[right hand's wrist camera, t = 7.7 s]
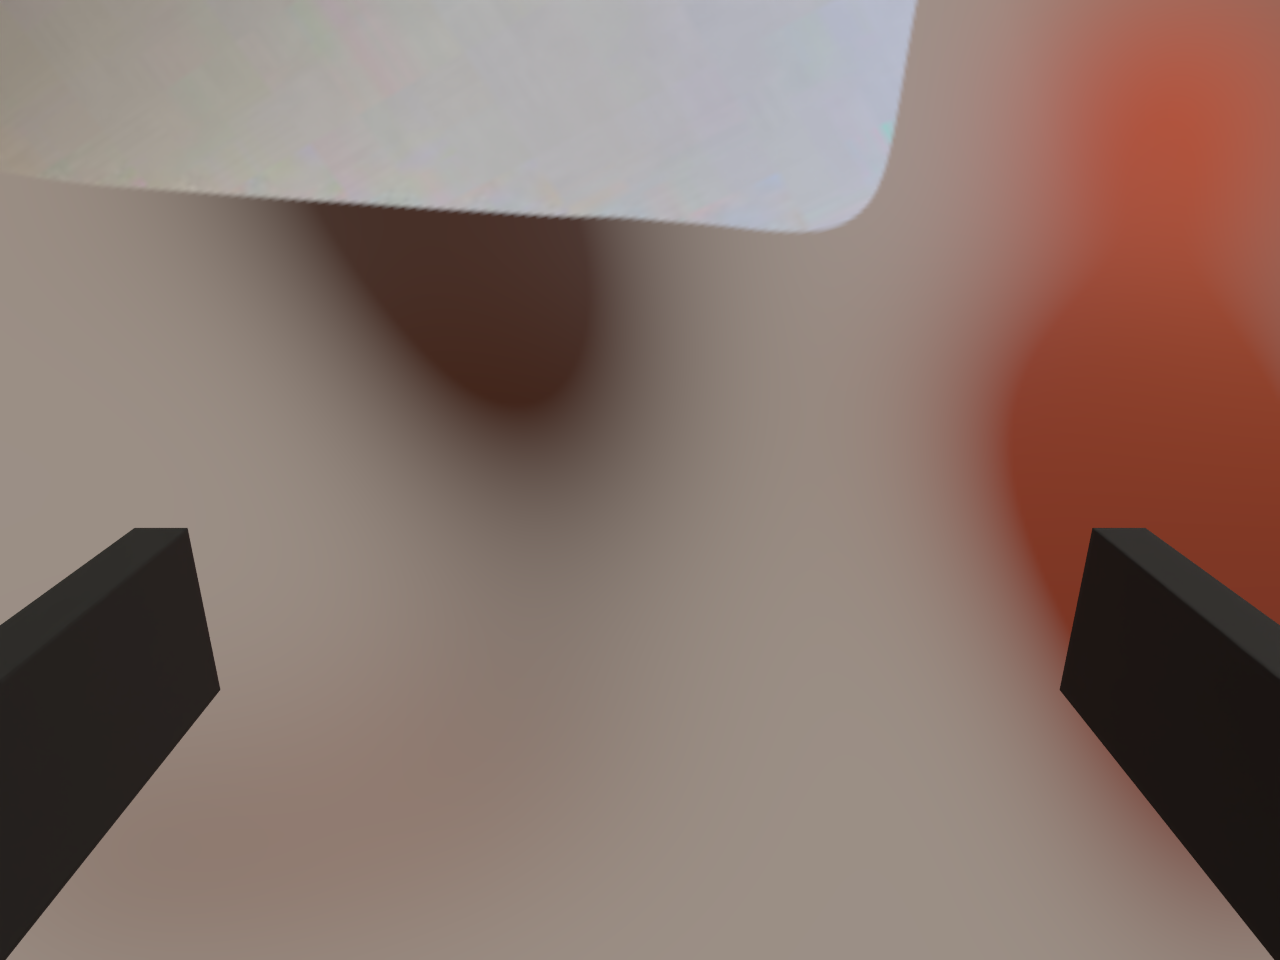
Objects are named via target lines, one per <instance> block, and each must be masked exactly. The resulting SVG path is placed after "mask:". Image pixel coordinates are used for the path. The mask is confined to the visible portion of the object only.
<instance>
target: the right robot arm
mask: <svg viewBox="0 0 1280 960" xmlns="http://www.w3.org/2000/svg"><path fill="white" fill-rule="evenodd" d="M219 691H220V686H219V681H218V676H217V671H216V666H215V661H214V657H213V652H212V647H211V642H210V637H209V632H208V627H207V622H206V617H205V612H204V607H203V602H202V597H201V593H200V588H199V583H198V578H197V573H196V568H195V563H194V558H193V553H192V548H191V543H190V538H189V533H188V529H187V528H134V529H133V530H131V531H130V532H129V533H127V534H126V535H124V536H123V537H122V538H120V539H119V540H117V541H116V542H115V543H113V544H112V545H111V546H109V547H108V548H106V549H105V550H104V551H102V552H101V553H100V554H98V555H97V556H95V557H94V558H93V559H91V560H90V561H88V562H87V563H86V564H84V565H83V566H82V567H80V568H79V569H77V570H76V571H75V572H73V573H72V574H71V575H69V576H68V577H66V578H65V579H64V580H62V581H61V582H59V583H58V584H57V585H55V586H54V587H53V588H51V589H50V590H48V591H47V592H46V593H44V594H43V595H42V596H40V597H39V598H37V599H36V600H35V601H33V602H32V603H30V604H29V605H28V606H26V607H25V608H24V609H22V610H21V611H20V612H18V613H17V614H15V615H14V616H13V617H11V618H10V619H8V620H7V621H6V622H4V623H3V624H1V625H0V960H6V959H7V957H8V956H9V955H10V954H11V952H12V951H13V950H14V948H15V947H16V946H17V945H18V943H19V942H20V941H21V940H22V938H23V937H24V936H25V935H26V933H27V932H28V931H29V930H30V928H31V927H32V926H33V925H34V923H35V922H36V921H37V919H38V918H39V917H40V916H41V915H42V913H43V912H44V911H45V909H46V908H47V907H48V906H49V904H50V903H51V902H52V901H53V899H54V898H55V897H56V896H57V894H58V893H59V892H60V891H61V889H62V888H63V887H64V886H65V884H66V883H67V882H68V881H69V879H70V878H71V877H72V876H73V874H74V873H75V872H76V871H77V869H78V868H79V867H80V865H81V864H82V863H83V862H84V860H85V859H86V858H87V857H88V855H89V854H90V853H91V852H92V850H93V849H94V848H95V847H96V845H97V844H98V843H99V842H100V840H101V839H102V838H103V837H104V835H105V834H106V833H107V832H108V830H109V829H110V828H111V826H112V825H113V824H114V823H115V821H116V820H117V819H118V818H119V816H120V815H121V814H122V813H123V811H124V810H125V809H126V808H127V806H128V805H129V804H130V803H131V801H132V800H133V799H134V798H135V796H136V795H137V794H138V793H139V791H140V790H141V789H142V788H143V786H144V785H145V784H146V782H147V781H148V780H149V779H150V777H151V776H152V775H153V774H154V772H155V771H156V770H157V769H158V767H159V766H160V765H161V764H162V762H163V761H164V760H165V759H166V757H167V756H168V755H169V754H170V752H171V751H172V750H173V749H174V747H175V746H176V745H177V743H178V742H179V741H180V740H181V738H182V737H183V736H184V735H185V733H186V732H187V731H188V730H189V728H190V727H191V726H192V725H193V723H194V722H195V721H196V720H197V718H198V717H199V716H200V715H201V713H202V712H203V711H204V709H205V708H206V707H207V706H208V705H209V703H210V702H211V701H212V700H213V698H214V697H215V696H216V694H217V693H218V692H219ZM1060 691H1061V692H1062V693H1063V694H1064V696H1065V697H1066V698H1067V699H1068V701H1069V702H1070V703H1071V705H1072V706H1073V707H1074V708H1075V709H1076V711H1077V712H1078V713H1079V715H1080V716H1081V717H1082V718H1083V720H1084V721H1085V722H1086V723H1087V725H1088V726H1089V727H1090V728H1091V730H1092V731H1093V732H1094V733H1095V735H1096V736H1097V737H1098V738H1099V740H1100V741H1101V742H1102V744H1103V745H1104V746H1105V747H1106V749H1107V750H1108V751H1109V752H1110V754H1111V755H1112V756H1113V757H1114V759H1115V760H1116V761H1117V762H1118V764H1119V765H1120V766H1121V767H1122V769H1123V770H1124V771H1125V772H1126V774H1127V775H1128V776H1129V777H1130V779H1131V780H1132V781H1133V782H1134V784H1135V785H1136V786H1137V788H1138V789H1139V790H1140V791H1141V792H1142V794H1143V795H1144V796H1145V798H1146V799H1147V800H1148V801H1149V803H1150V804H1151V805H1152V806H1153V808H1154V809H1155V810H1156V811H1157V813H1158V814H1159V815H1160V816H1161V818H1162V819H1163V820H1164V821H1165V823H1166V824H1167V825H1168V827H1169V828H1170V829H1171V830H1172V832H1173V833H1174V834H1175V835H1176V837H1177V838H1178V839H1179V840H1180V842H1181V843H1182V844H1183V845H1184V847H1185V848H1186V849H1187V850H1188V852H1189V853H1190V854H1191V855H1192V857H1193V858H1194V859H1195V860H1196V862H1197V863H1198V864H1199V865H1200V867H1201V868H1202V869H1203V870H1204V872H1205V873H1206V874H1207V876H1208V877H1209V878H1210V879H1211V881H1212V882H1213V883H1214V884H1215V886H1216V887H1217V888H1218V889H1219V891H1220V892H1221V893H1222V894H1223V896H1224V897H1225V898H1226V899H1227V901H1228V902H1229V903H1230V904H1231V906H1232V907H1233V908H1234V909H1235V911H1236V912H1237V913H1238V915H1239V916H1240V917H1241V918H1242V920H1243V921H1244V922H1245V923H1246V925H1247V926H1248V927H1249V928H1250V930H1251V931H1252V932H1253V933H1254V935H1255V936H1256V937H1257V938H1258V940H1259V941H1260V942H1261V943H1262V945H1263V946H1264V947H1265V948H1266V950H1267V951H1268V952H1269V953H1270V955H1271V956H1272V957H1273V958H1274V960H1280V625H1279V624H1277V623H1276V622H1274V621H1273V620H1272V619H1270V618H1269V617H1267V616H1266V615H1265V614H1263V613H1262V612H1261V611H1259V610H1258V609H1256V608H1255V607H1254V606H1252V605H1251V604H1250V603H1248V602H1247V601H1245V600H1244V599H1243V598H1241V597H1240V596H1238V595H1237V594H1236V593H1234V592H1233V591H1232V590H1230V589H1229V588H1227V587H1226V586H1225V585H1223V584H1222V583H1220V582H1219V581H1218V580H1216V579H1215V578H1214V577H1212V576H1211V575H1209V574H1208V573H1207V572H1205V571H1204V570H1203V569H1201V568H1200V567H1198V566H1197V565H1196V564H1194V563H1193V562H1192V561H1190V560H1189V559H1187V558H1186V557H1185V556H1183V555H1182V554H1180V553H1179V552H1178V551H1176V550H1175V549H1174V548H1172V547H1171V546H1169V545H1168V544H1167V543H1165V542H1164V541H1163V540H1161V539H1160V538H1158V537H1157V536H1156V535H1154V534H1153V533H1152V532H1150V531H1149V530H1147V529H1146V528H1092V533H1091V538H1090V543H1089V548H1088V553H1087V558H1086V563H1085V568H1084V573H1083V578H1082V583H1081V587H1080V592H1079V597H1078V602H1077V607H1076V612H1075V617H1074V622H1073V627H1072V632H1071V637H1070V642H1069V647H1068V652H1067V656H1066V662H1065V666H1064V671H1063V676H1062V681H1061V686H1060Z"/></svg>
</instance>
